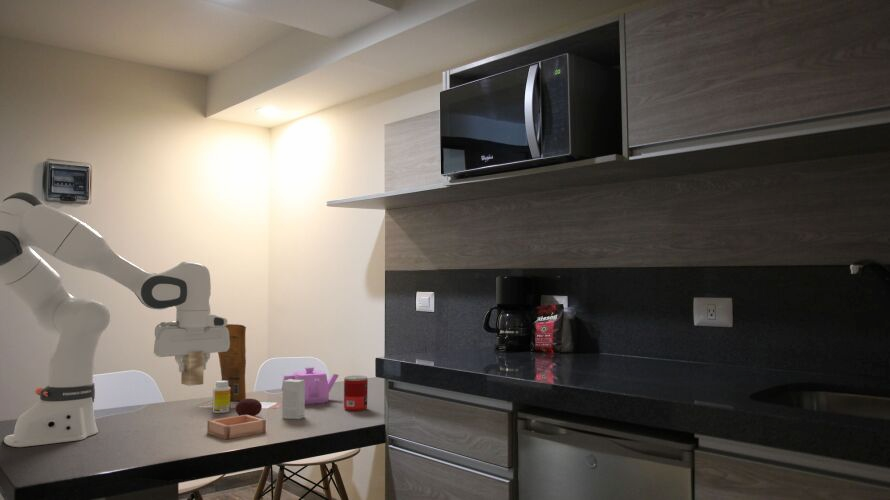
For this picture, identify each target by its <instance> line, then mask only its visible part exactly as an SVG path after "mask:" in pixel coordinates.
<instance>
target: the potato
mask: <svg viewBox="0 0 890 500" xmlns="http://www.w3.org/2000/svg"><path fill="white" fill-rule="evenodd" d="M262 409H263V407H262V403H261V401H260V400H257V399H256V398H246V399H243V400H241V401H238V402H237V403H236V406H235V413H236V414H237V416H240V415H250V416H254V417H256V416H257V415H259V414H260V413H261V411H262Z"/></svg>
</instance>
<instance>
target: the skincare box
mask: <svg viewBox="0 0 890 500" xmlns="http://www.w3.org/2000/svg"><path fill="white" fill-rule="evenodd" d="M282 384H283V391H282V413H281V415H282V417H281V418H282V419H285V420H286V419H289V420H300V419H302V418H305V416H306V415H305V414H306V413H305V412H306V411H305V409H306V406H305V405H306V404H305V380H292V379H288V380H285V381H283V380H282Z"/></svg>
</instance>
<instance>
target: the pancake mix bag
mask: <svg viewBox="0 0 890 500" xmlns="http://www.w3.org/2000/svg"><path fill="white" fill-rule="evenodd" d="M225 327H226V328H227V329H228V331H229V337H230V348H229V349H228V351H226V352H217V355H218V359H219V367H220V375H221V381H228V386H229V387H230V389H231V390H230V401H233V402H240V401H241V400H243V399H247V395H246V393H247V392H246V369H247V368H246V367H247V366H246V364H247V361H246V359H247V357H246V351H247V349H246V330H247V327H246V326H245V325H243V324H236V323H235V324H233V323H232V324H231V323H230V324H228V323H227V325H226V326H225Z"/></svg>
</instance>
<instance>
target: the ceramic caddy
mask: <svg viewBox="0 0 890 500" xmlns="http://www.w3.org/2000/svg"><path fill="white" fill-rule="evenodd" d="M266 428H267V420H266V419H264V418H260V417H256V416H250V415H240V416H239V415H236V416H235V415H234V416H229V417H221V418H217V419H216V418H215V419H210V420H207V431H206V432H207V434H209V435H212V436H215V437H217V438H221V439H224V440H232V439H237V438H243V437H248V436H253V435H258V434H264V433H267V429H266Z"/></svg>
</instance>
